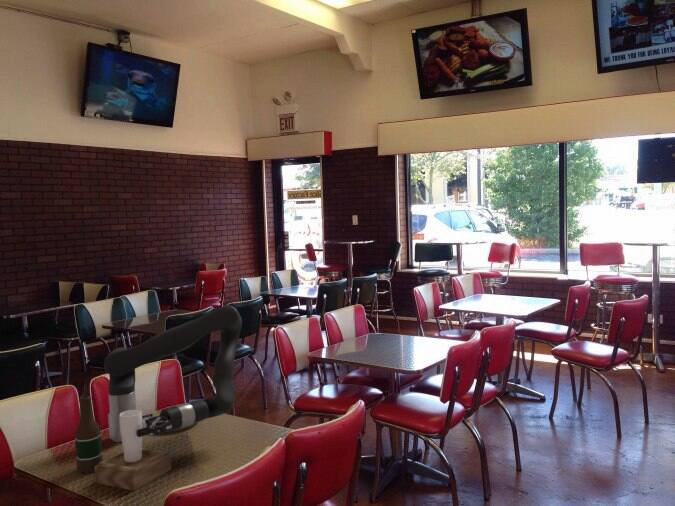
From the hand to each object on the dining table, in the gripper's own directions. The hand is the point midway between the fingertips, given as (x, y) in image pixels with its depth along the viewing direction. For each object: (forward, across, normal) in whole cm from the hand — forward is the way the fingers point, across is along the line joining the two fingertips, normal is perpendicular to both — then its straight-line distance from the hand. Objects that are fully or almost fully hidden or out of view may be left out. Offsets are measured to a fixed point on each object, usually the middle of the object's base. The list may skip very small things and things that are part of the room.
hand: (131, 430), depth 186 cm
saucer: (-32, -33, +15) cm, 49 cm away
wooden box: (0, 0, +14) cm, 15 cm away
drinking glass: (0, 0, +10) cm, 10 cm away
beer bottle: (+7, -16, +15) cm, 23 cm away
